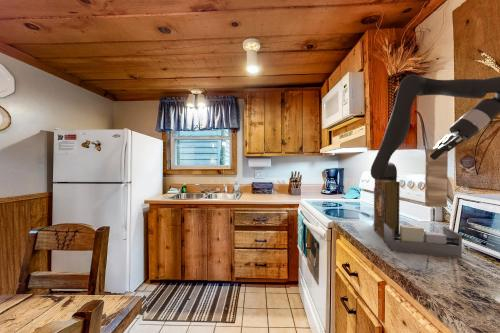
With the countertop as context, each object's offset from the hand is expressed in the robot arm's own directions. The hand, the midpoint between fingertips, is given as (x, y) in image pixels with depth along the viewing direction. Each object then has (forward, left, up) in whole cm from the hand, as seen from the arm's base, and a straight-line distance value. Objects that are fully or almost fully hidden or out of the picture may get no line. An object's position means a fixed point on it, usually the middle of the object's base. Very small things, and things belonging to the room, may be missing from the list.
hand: (430, 157), depth 93 cm
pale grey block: (+5, 0, -35) cm, 35 cm away
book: (-14, -12, -35) cm, 40 cm away
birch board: (0, +2, -18) cm, 19 cm away
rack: (+3, -4, -35) cm, 35 cm away
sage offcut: (+5, -7, -35) cm, 36 cm away
